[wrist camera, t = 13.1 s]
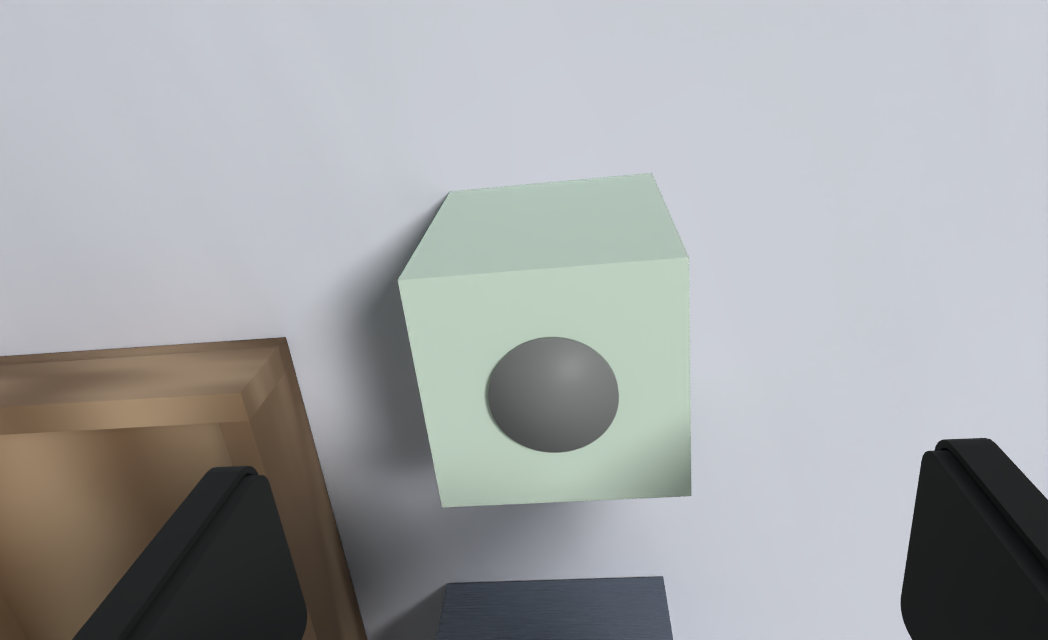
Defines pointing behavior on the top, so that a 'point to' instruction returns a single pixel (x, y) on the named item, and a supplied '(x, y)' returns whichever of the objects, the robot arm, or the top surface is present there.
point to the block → (557, 610)
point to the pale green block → (553, 343)
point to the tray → (150, 472)
